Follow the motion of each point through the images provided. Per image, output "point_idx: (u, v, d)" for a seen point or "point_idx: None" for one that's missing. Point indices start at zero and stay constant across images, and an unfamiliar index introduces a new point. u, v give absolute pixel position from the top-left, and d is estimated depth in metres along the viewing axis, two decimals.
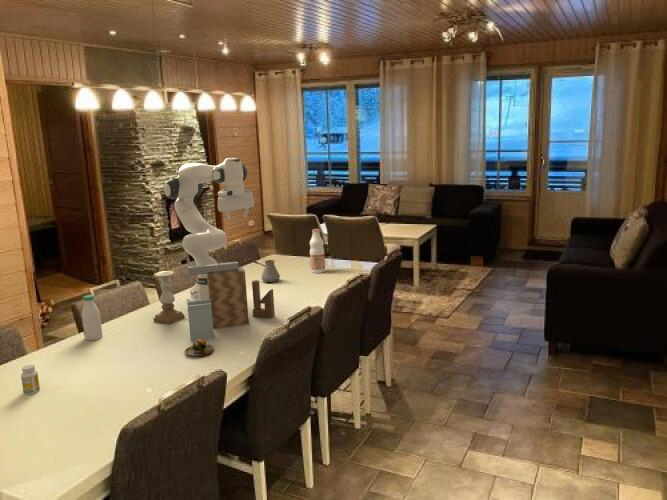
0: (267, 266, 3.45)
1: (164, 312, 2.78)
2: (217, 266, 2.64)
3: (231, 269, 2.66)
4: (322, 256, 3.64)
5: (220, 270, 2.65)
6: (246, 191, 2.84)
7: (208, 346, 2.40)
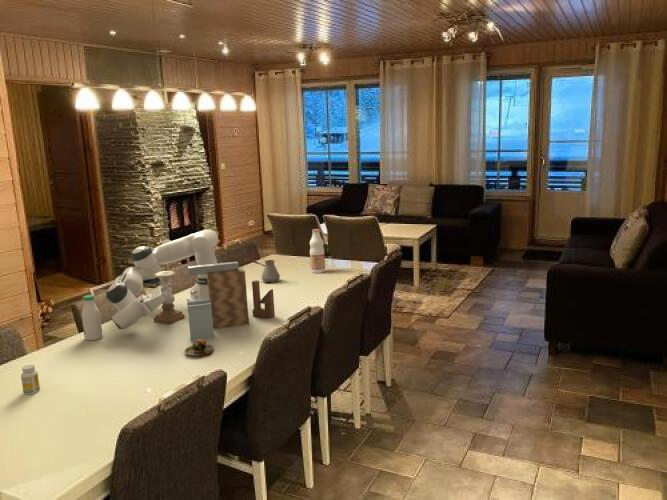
0: (267, 266, 3.45)
1: (164, 312, 2.78)
2: (217, 266, 2.64)
3: (231, 269, 2.66)
4: (322, 256, 3.64)
5: (220, 270, 2.65)
6: None
7: (208, 346, 2.40)
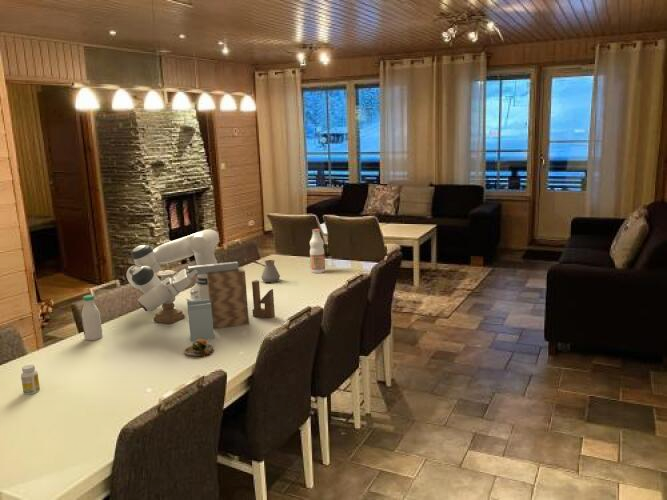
0: (267, 266, 3.45)
1: (164, 311, 2.78)
2: (217, 266, 2.64)
3: (231, 269, 2.66)
4: (322, 256, 3.64)
5: (220, 270, 2.65)
6: None
7: (208, 346, 2.40)
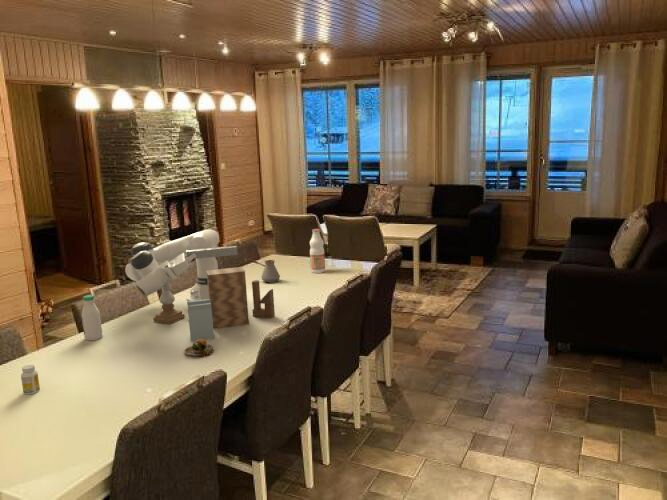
0: (267, 266, 3.45)
1: (164, 312, 2.78)
2: (216, 250, 2.62)
3: (230, 253, 2.64)
4: (322, 256, 3.64)
5: (219, 254, 2.63)
6: None
7: (208, 346, 2.40)
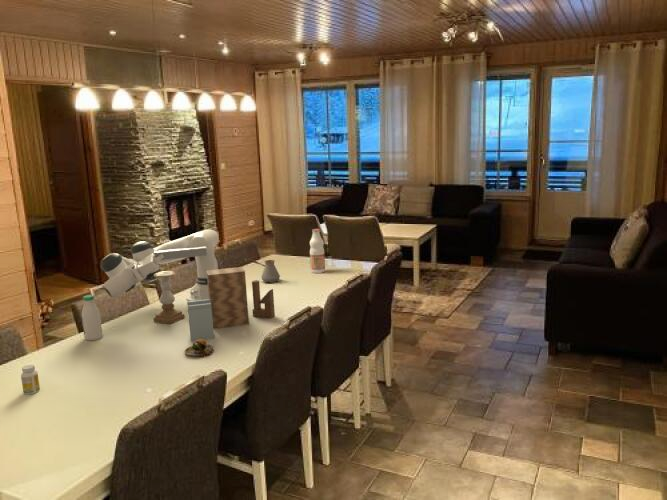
0: (267, 266, 3.45)
1: (164, 312, 2.78)
2: (184, 251, 2.58)
3: (199, 254, 2.60)
4: (322, 256, 3.64)
5: (187, 255, 2.59)
6: None
7: (208, 346, 2.40)
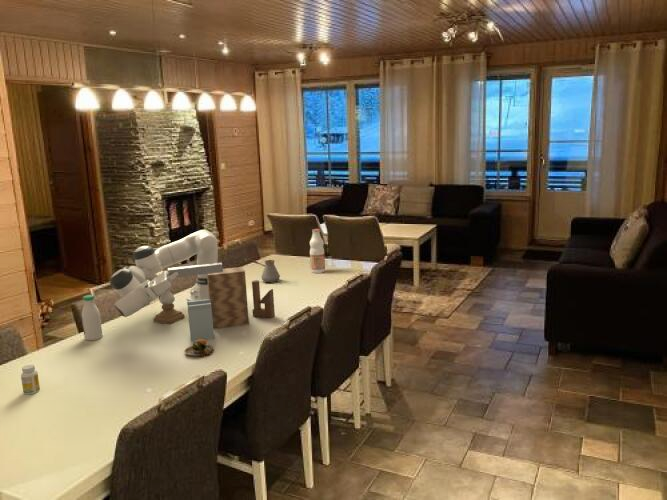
0: (267, 266, 3.45)
1: (164, 312, 2.78)
2: (199, 268, 2.47)
3: (214, 270, 2.49)
4: (322, 256, 3.64)
5: (203, 272, 2.48)
6: None
7: (208, 346, 2.40)
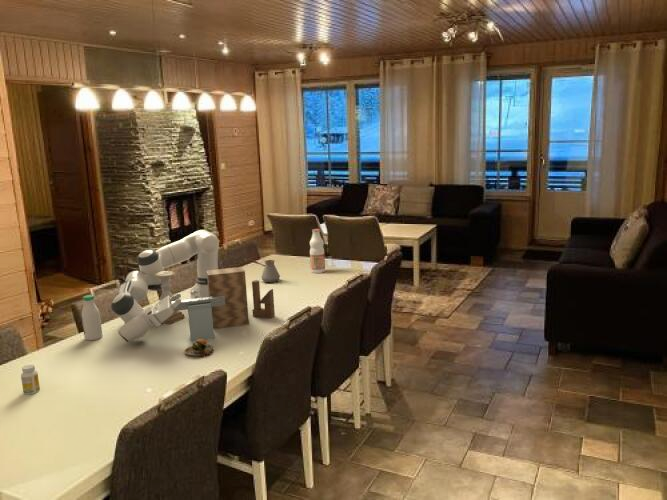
0: (267, 266, 3.45)
1: None
2: (202, 301, 2.51)
3: (217, 303, 2.53)
4: (322, 256, 3.64)
5: None
6: None
7: (208, 346, 2.40)
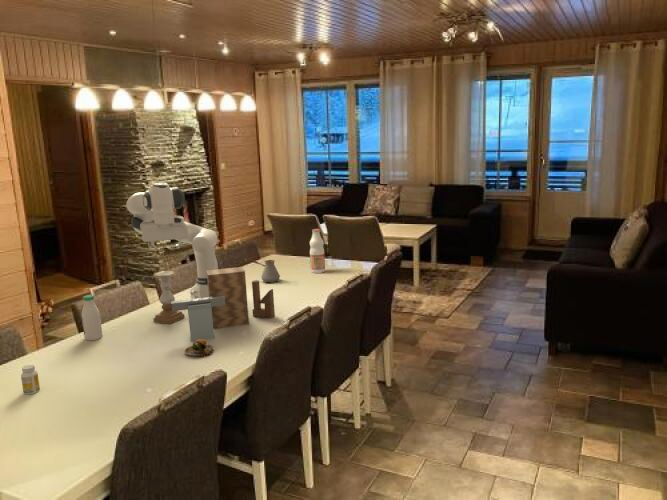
0: (267, 266, 3.45)
1: (164, 312, 2.78)
2: (202, 301, 2.51)
3: (217, 303, 2.53)
4: (322, 256, 3.64)
5: None
6: None
7: (208, 346, 2.40)
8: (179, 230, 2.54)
